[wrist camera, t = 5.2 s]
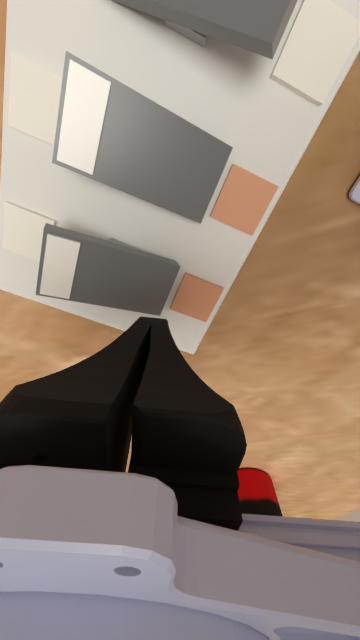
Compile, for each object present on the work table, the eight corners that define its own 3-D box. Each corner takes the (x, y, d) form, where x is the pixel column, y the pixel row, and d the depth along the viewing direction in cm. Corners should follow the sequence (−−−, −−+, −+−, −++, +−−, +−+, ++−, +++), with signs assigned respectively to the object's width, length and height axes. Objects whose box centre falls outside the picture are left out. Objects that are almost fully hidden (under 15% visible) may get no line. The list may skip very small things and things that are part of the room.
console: (386, -34, 12) (452, -103, 9) (192, 338, 23) (194, 361, 20) (60, -281, 9) (3, -496, 6) (16, 276, 20) (-12, 293, 17)
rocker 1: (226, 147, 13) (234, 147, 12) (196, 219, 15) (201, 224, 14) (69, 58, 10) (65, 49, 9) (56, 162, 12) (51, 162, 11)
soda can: (207, 482, 36) (217, 607, 25) (247, 460, 33) (278, 590, 22) (241, 500, 38) (264, 621, 28) (282, 481, 35) (323, 607, 25)
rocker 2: (176, 261, 17) (181, 267, 16) (156, 308, 19) (160, 317, 18) (45, 222, 13) (43, 229, 12) (37, 286, 15) (35, 296, 14)
